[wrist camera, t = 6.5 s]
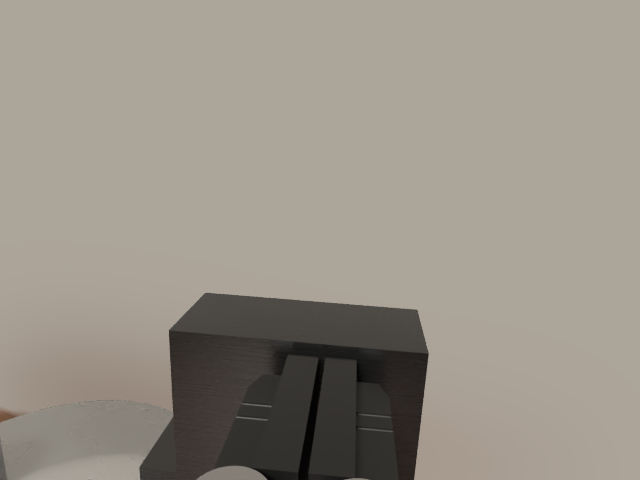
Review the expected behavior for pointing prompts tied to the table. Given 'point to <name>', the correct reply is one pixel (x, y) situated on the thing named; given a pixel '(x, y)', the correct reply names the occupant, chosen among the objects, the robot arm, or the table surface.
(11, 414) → the table surface
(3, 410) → the table surface
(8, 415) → the table surface
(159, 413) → the lid
